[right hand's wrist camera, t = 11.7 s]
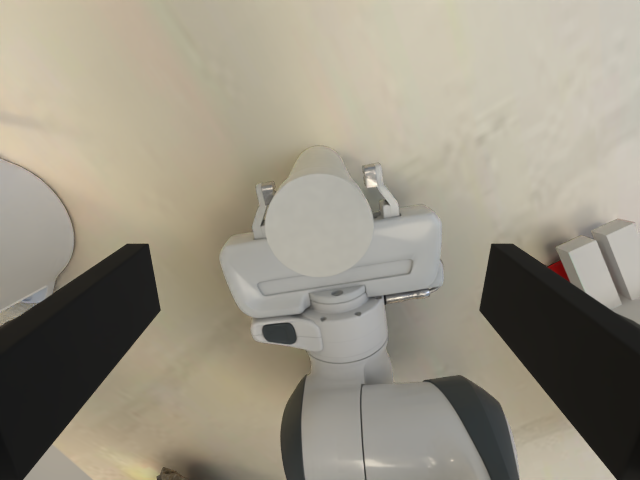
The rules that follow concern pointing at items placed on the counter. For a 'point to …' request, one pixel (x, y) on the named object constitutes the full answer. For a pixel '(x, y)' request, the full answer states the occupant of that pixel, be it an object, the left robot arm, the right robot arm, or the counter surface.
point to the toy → (605, 266)
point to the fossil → (169, 475)
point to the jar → (319, 160)
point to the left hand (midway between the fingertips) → (317, 173)
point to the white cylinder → (319, 222)
